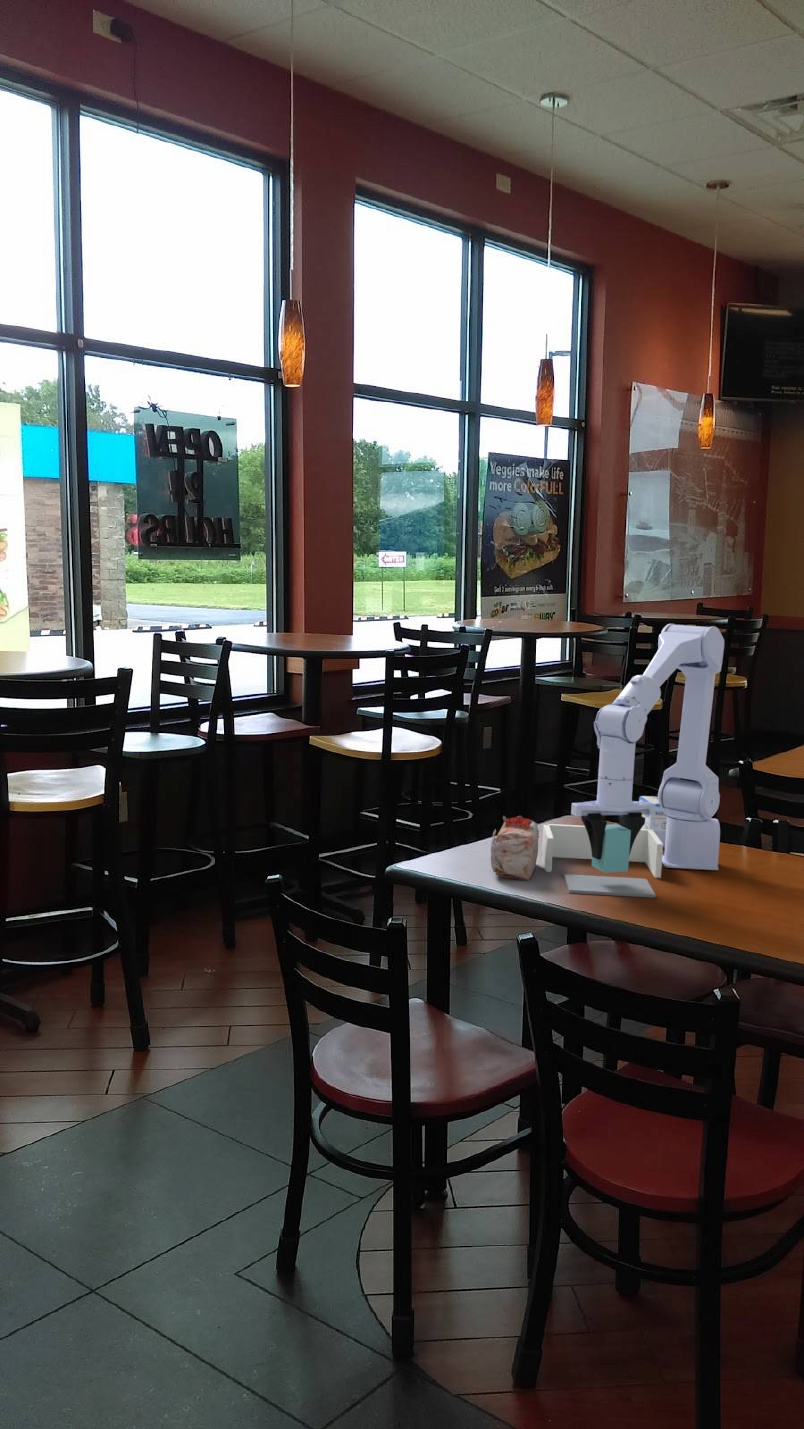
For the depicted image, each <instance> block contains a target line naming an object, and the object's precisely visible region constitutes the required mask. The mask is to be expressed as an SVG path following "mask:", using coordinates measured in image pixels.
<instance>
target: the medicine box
mask: <svg viewBox="0 0 804 1429" xmlns="http://www.w3.org/2000/svg"><path fill="white" fill-rule="evenodd" d="M638 801H639V802H652V803H654V804H656V806H655V815H648V814H642V817H644V818H645V824H644V825H643V827H642V828H641V829H652V830H653V831H654V833H655V834H656V835H657V837H658V838H659V839H660V841H661V842H662V844H663V848H665V838H666V824H667V815H664V810H663V809H662V808H661V807H660V804H659V801H658V796H653V795H650V796H649V795H648V796H647V795H641V796H639V798H638Z"/></svg>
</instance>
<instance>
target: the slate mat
mask: <svg viewBox="0 0 804 1429" xmlns="http://www.w3.org/2000/svg"><path fill="white" fill-rule="evenodd" d="M563 878H564V881H565V883H566V884H565V885H566V888H567V890H568V893H569V894H581V895H582V894H584V895H585V894H586V895H601V896H602V895H603V896H604V895H605V896H615V897H617V896H618V897H637V898H638V897H639V898H640V897H641V898H656V896H657V895H656V893H655V891H654V890H653V887H652V886H651V885H650V883H649V881H648V879H647V878H637V877H621V876H607V875H606V876H604V875H603V876H602V875H600V876H599V875H588V874H587V875H584V874H569V873H567V874H565V873H564V877H563Z"/></svg>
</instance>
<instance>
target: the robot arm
mask: <svg viewBox="0 0 804 1429" xmlns="http://www.w3.org/2000/svg"><path fill="white" fill-rule="evenodd" d="M657 640H658V642H657V647H658V648H657V651H656V653H655V654H654V656H653V658H652V659H651V661H650V662H649V664H648V665H647V667H646V669H645V671H643V674H637V675H635V676H632V677H631V679H630V681H628V683H627V684H626V685H625V686H624V688H623V690H622V691H621V692H620V693H619V695H617V697H616V698H615V699H614V701H613V702H612V703H611V704H606V705H605V706H603V707H601V708H599V711H597V713H596V716H595V719H594V720H595V721H593V728H594V732H595V735H596V738H597V739H596V740H597V741H596V745H597V749H599V761H598V774H597V791H596V792H597V794H596V800H590V801H583V802H572V803H571V806H570V807H571V811H570V815H572V816H574V817H577V818H578V817H580V819H581V822H582V823H583V826H585V828H586V831H587V833H588V837H589V840H590V845H591V851H592V857H594V858H596V859H601V856H602V848H603V837H604V832H605V828H606V825H608V821H606V820H604V818H603V817H602V816H618V821H619V822H618V823H619V825H620V826H623V827H625V828H627V829H629V830H631V835H630V850H629V855H630V852H631V849H632V846H633V843H634V841H635V838H636V836H637V835H638V833H639V831H640V830H641V828H642V827H643V825H644V824H645V818H644V817H642V814H648V815H655V806H656V804H654V803H652V802H639V800H638V801H637V800H636V801H635V800H633V789H634V788H633V786H634V785H633V784H634V772H635V771H634V770H635V756H636V755H635V754H636V742H637V741H639V740H640V738H641V737H643V734H644V729H645V725H646V723H647V722H648V715H649V713H650V712H651V711H652V709H653V707H654V706H655V705H656V704H657V702H658V701H659V699H660V698H661V696H662V695H661V694H662V691H661V686H662V685H663V684H664V683H666V682H665V681H666V680H668V678H670V676H671V675H672V674H673V673H674V672H675V671H676V670H677V669H678V670H680V671H681V673H682V674H683V675H684V677H685V683H684V692H683V701H682V709H681V710H682V712H681V719H680V729H679V730H680V731H679V738H678V746H677V747H678V748H677V754H676V755H677V756H676V762H675V763H674V764H673V765H671V766H670V767H668V768H666V769H665V770H664V771H663V776H662V779H661V780H662V781H661V783H660V785H659V789H658V793H657V797H658V801H659V804H660V807H661V808H662V809H663V810H664V815H667V824H666V838H665V847H664V851H663V852H664V854H662V865H664V867H665V868H667V869H668V868H671V869H685V870H686V869H688V870H705V871H719V854H720V841H721V827H720V826H721V825H720V821H719V819H717V818H712V817H713V816H714V815H715V814H716V813H717V811H718V810H719V806H720V803H721V802H720V798H721V794H720V791H719V779H720V778H719V776H718V775H716V773H714V772H713V771H712V770H711V769H710V768H709V766H707V764H706V763H707V755H708V754H707V753H708V746H709V737H710V736H709V735H710V729H711V728H710V727H711V726H710V725H711V717H712V710H713V700H714V692H715V689H714V688H715V682H716V680H715V679H716V674H719V673H720V672H721V671H722V665H723V658H724V650H725V639H724V637H723V635H722V633H721V631H720V629H719V628H718V627H716V626H713V625H712V626H699V625H697V626H696V625H684V624H683V625H682V624H681V625H680V624H675V623H668V624H666V625H665V626H664V627H663V628H662V630H661V633H660V634H659V635H658V639H657Z"/></svg>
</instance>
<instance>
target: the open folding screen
mask: <svg viewBox="0 0 804 1429" xmlns="http://www.w3.org/2000/svg"><path fill="white" fill-rule="evenodd" d="M541 843H542V844H541V858H542V862H543V866H544V869H545V872H546V873H547V872H548V873H552V867H553V858H561V859H563V858H565V859H582V860H592V851H591V845H590V840H589V837H588V833H587V831H586V828H585V826H584V825H577V824H576V825H574V824H560V823H559V824H555V823H543V824H542V840H541ZM663 849H664V847H663V844H662V842H661V841H660V839H659V838H658V837H657V835H656V834H655V833H654V831H653V830H652V829H641V830H640V831H639V833H638V835H637V836H636V838H635V841H634V843H633V846H632V849H631V852H630V855H629V862H637V863H645V864H646V866H647V867H648V869H649V871H650V872H651V873H652V875H653V877H654V878H655V879H661V878H662V868H663V866H662V865H663V863H662V855H664V854H663V852H664V851H663Z"/></svg>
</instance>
